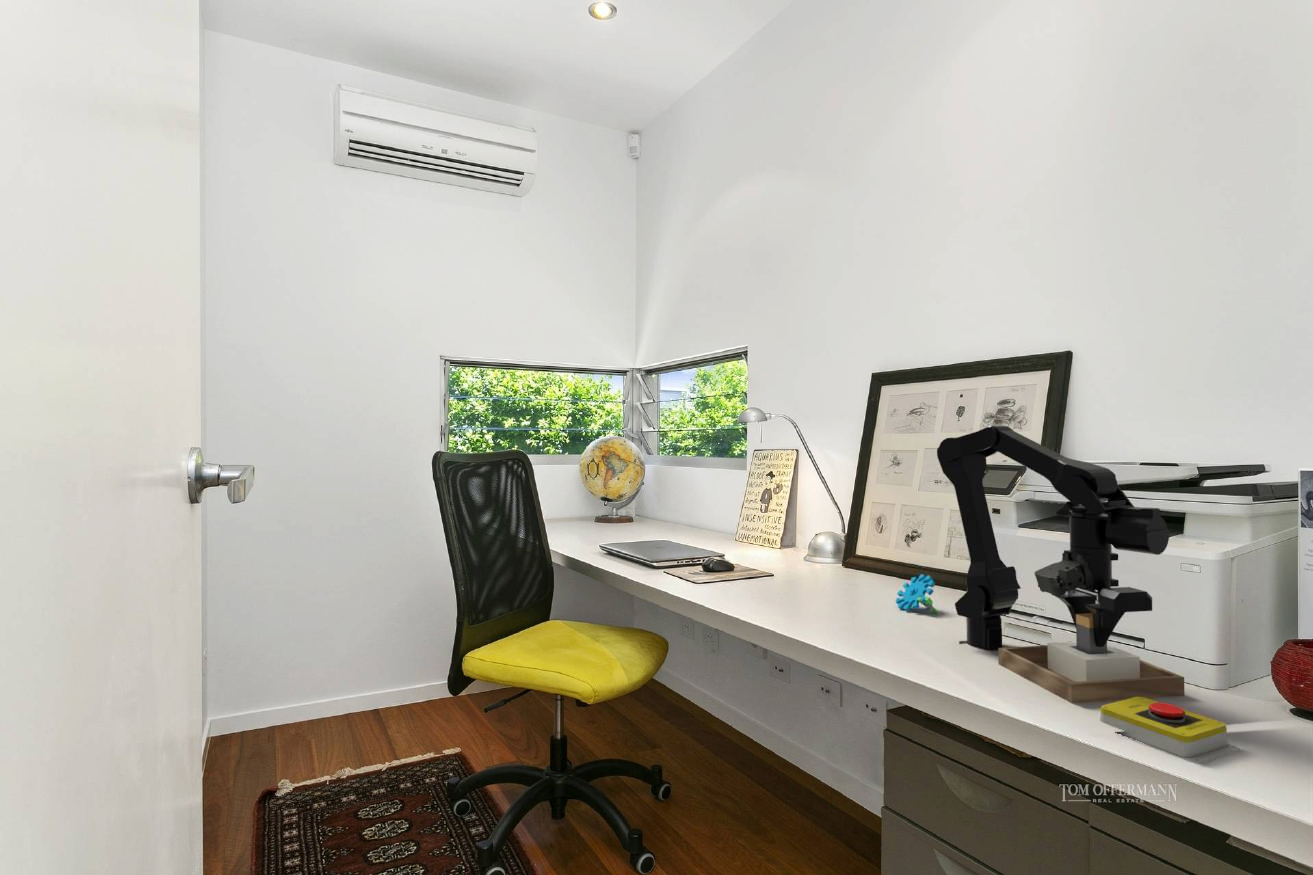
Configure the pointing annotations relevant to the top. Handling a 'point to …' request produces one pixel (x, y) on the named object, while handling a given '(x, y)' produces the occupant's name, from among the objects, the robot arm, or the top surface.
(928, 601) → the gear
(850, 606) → the top surface
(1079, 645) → the plug
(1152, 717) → the emergency button
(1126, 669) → the block
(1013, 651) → the walled box
